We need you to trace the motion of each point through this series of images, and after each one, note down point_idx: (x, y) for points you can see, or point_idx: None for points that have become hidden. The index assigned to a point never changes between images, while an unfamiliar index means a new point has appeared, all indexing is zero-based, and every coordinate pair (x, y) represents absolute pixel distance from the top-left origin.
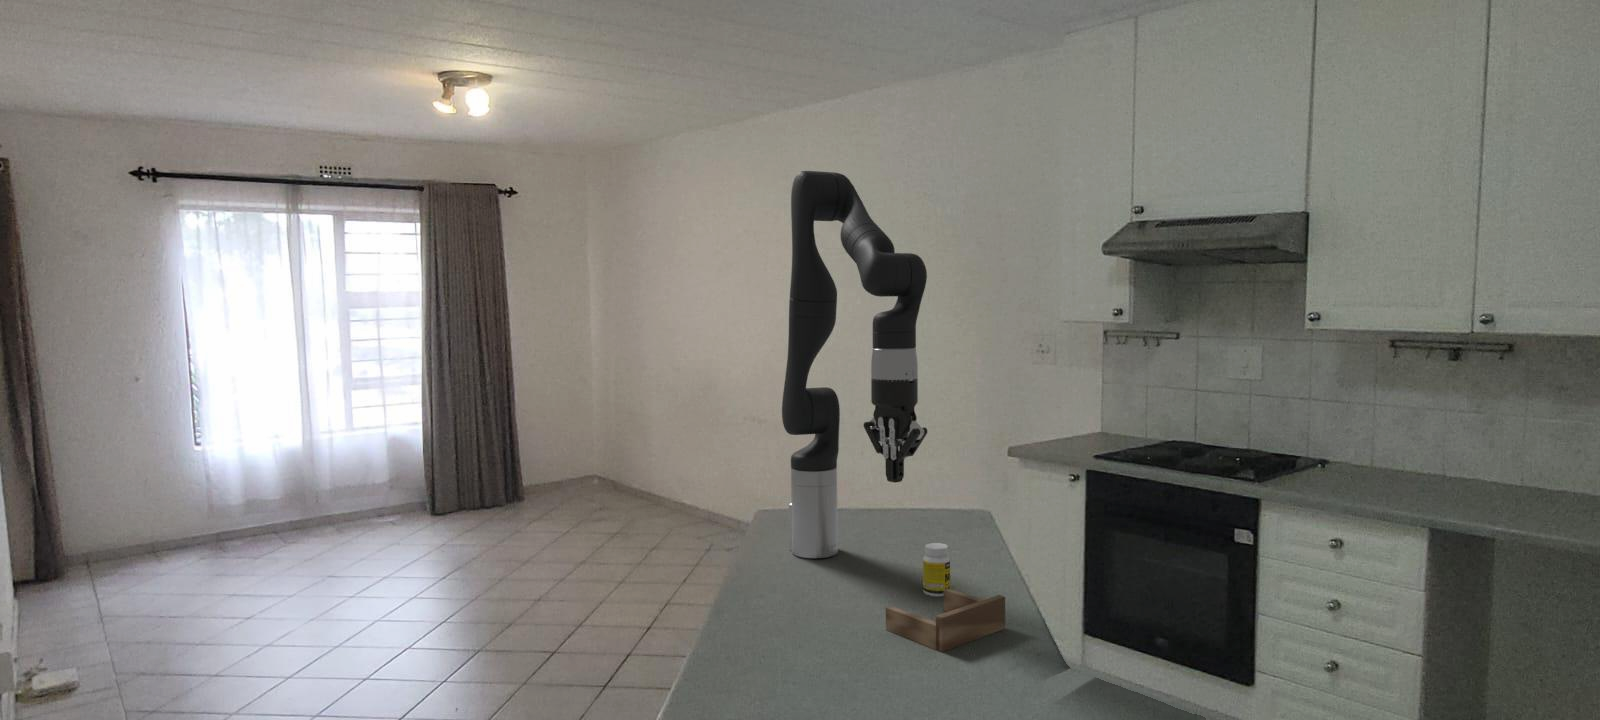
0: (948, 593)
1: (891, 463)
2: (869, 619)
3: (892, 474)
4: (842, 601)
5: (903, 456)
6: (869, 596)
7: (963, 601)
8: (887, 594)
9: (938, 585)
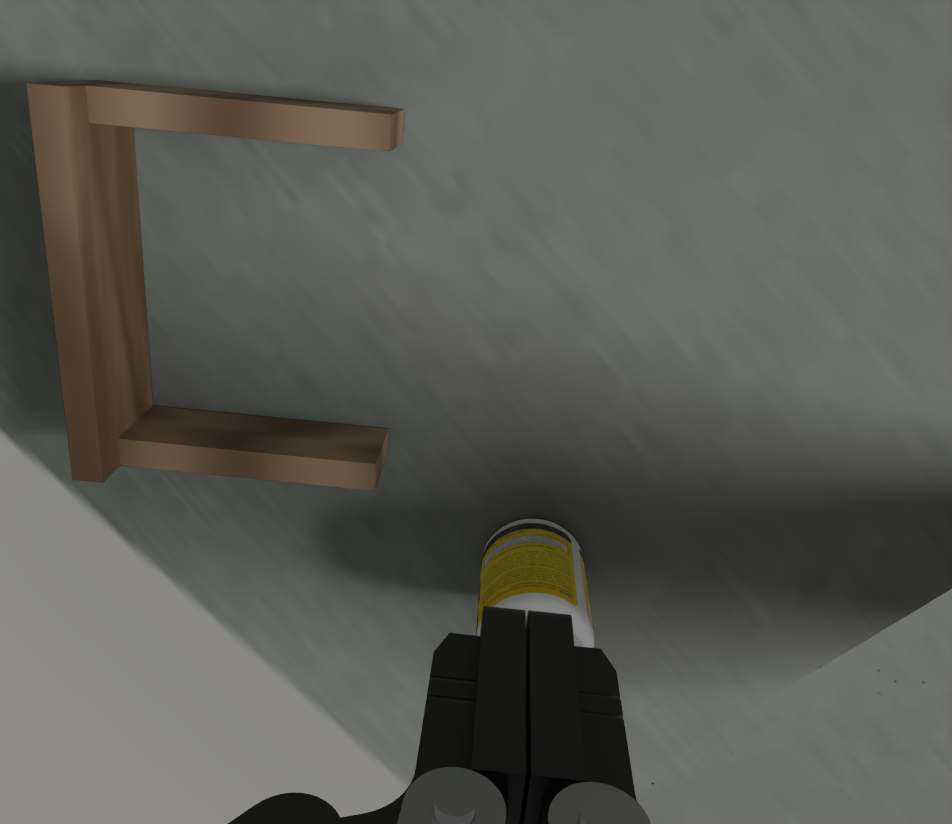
0: (351, 458)
1: (499, 739)
2: (535, 157)
3: (487, 648)
4: (766, 245)
5: (258, 812)
6: (712, 369)
7: (275, 444)
8: (668, 433)
9: (495, 553)
